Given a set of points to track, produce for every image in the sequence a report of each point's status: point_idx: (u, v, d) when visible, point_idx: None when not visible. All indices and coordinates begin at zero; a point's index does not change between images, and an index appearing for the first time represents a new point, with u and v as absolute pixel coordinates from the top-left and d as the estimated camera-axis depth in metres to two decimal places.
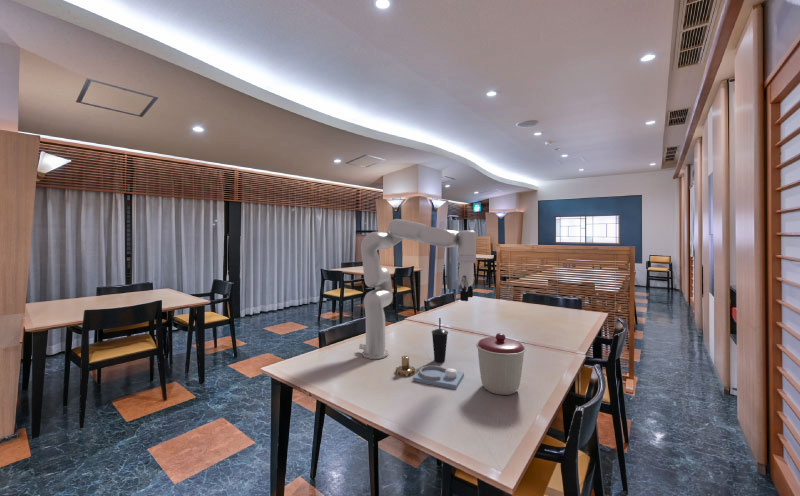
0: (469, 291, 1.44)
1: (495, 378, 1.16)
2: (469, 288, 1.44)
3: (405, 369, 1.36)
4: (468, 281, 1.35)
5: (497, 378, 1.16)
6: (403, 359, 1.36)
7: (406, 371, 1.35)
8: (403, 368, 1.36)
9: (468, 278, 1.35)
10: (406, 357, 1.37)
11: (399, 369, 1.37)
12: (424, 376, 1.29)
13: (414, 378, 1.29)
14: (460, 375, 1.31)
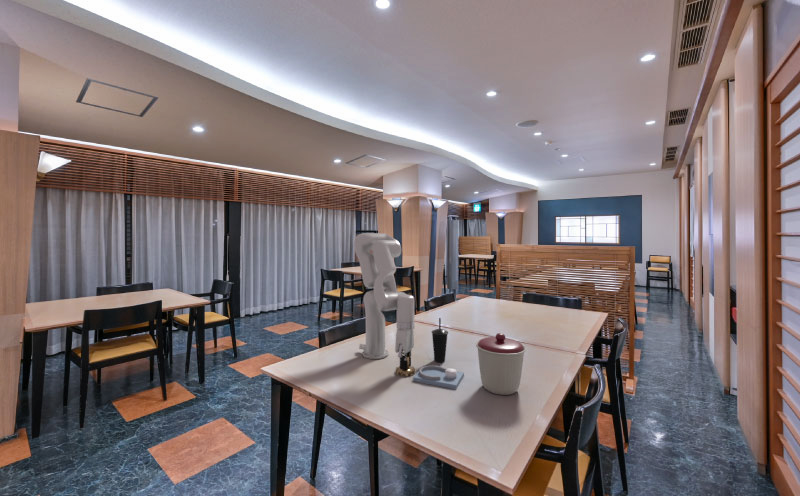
0: None
1: (495, 378, 1.16)
2: None
3: None
4: (404, 349, 1.32)
5: (497, 378, 1.16)
6: None
7: (406, 371, 1.35)
8: None
9: (404, 346, 1.32)
10: None
11: (399, 369, 1.37)
12: (424, 376, 1.29)
13: (414, 378, 1.29)
14: (460, 375, 1.31)
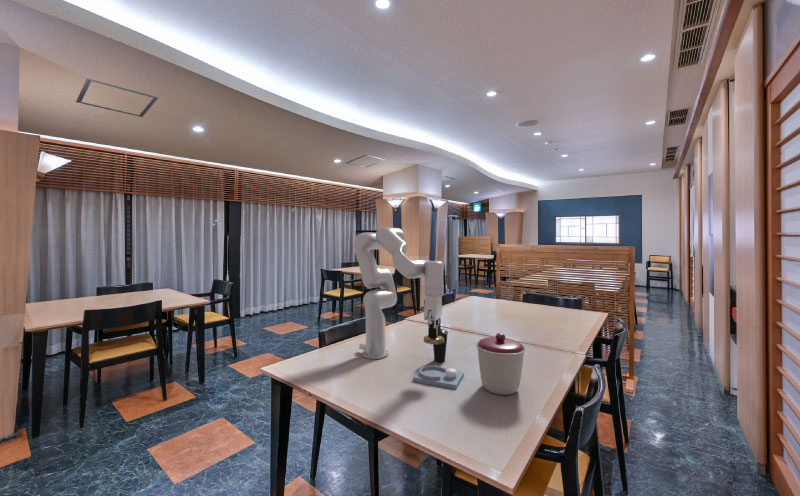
0: None
1: (495, 378, 1.16)
2: None
3: None
4: (434, 316, 1.27)
5: (497, 378, 1.16)
6: None
7: (435, 339, 1.30)
8: None
9: (434, 313, 1.27)
10: None
11: (427, 338, 1.32)
12: (424, 376, 1.29)
13: (414, 378, 1.29)
14: (460, 375, 1.31)
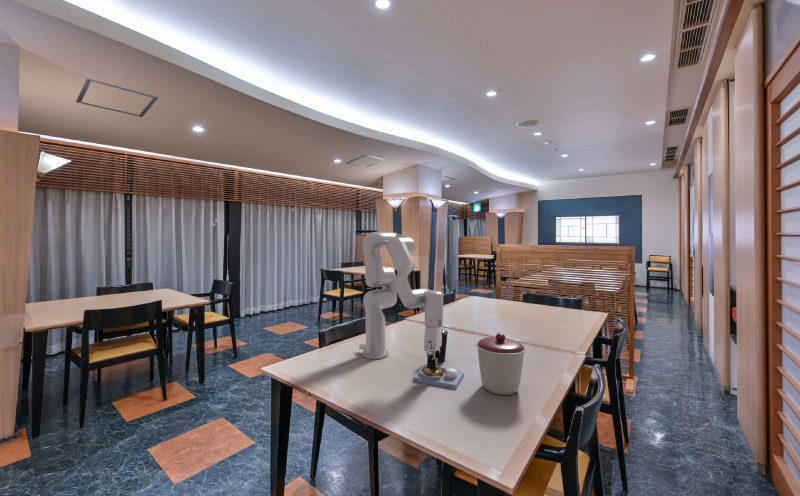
0: None
1: (495, 378, 1.16)
2: (436, 354, 1.35)
3: (434, 370, 1.31)
4: (434, 347, 1.27)
5: (497, 378, 1.16)
6: None
7: (435, 372, 1.30)
8: (431, 369, 1.31)
9: (434, 344, 1.27)
10: (434, 358, 1.32)
11: (427, 370, 1.32)
12: (424, 376, 1.29)
13: (414, 378, 1.29)
14: (460, 375, 1.31)
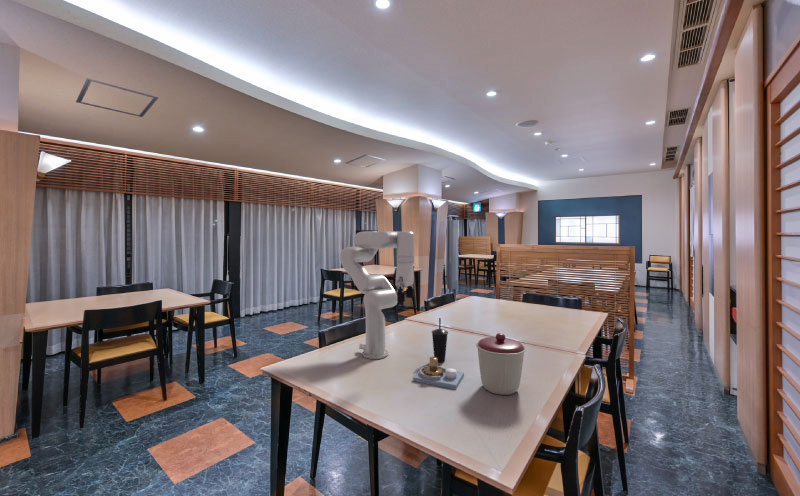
0: (409, 292, 1.45)
1: (495, 378, 1.16)
2: (409, 289, 1.45)
3: (434, 370, 1.31)
4: (404, 282, 1.36)
5: (497, 378, 1.16)
6: (431, 360, 1.31)
7: (435, 372, 1.30)
8: (431, 369, 1.31)
9: (404, 279, 1.35)
10: (434, 358, 1.32)
11: (427, 370, 1.32)
12: (424, 376, 1.29)
13: (414, 378, 1.29)
14: (460, 375, 1.31)
